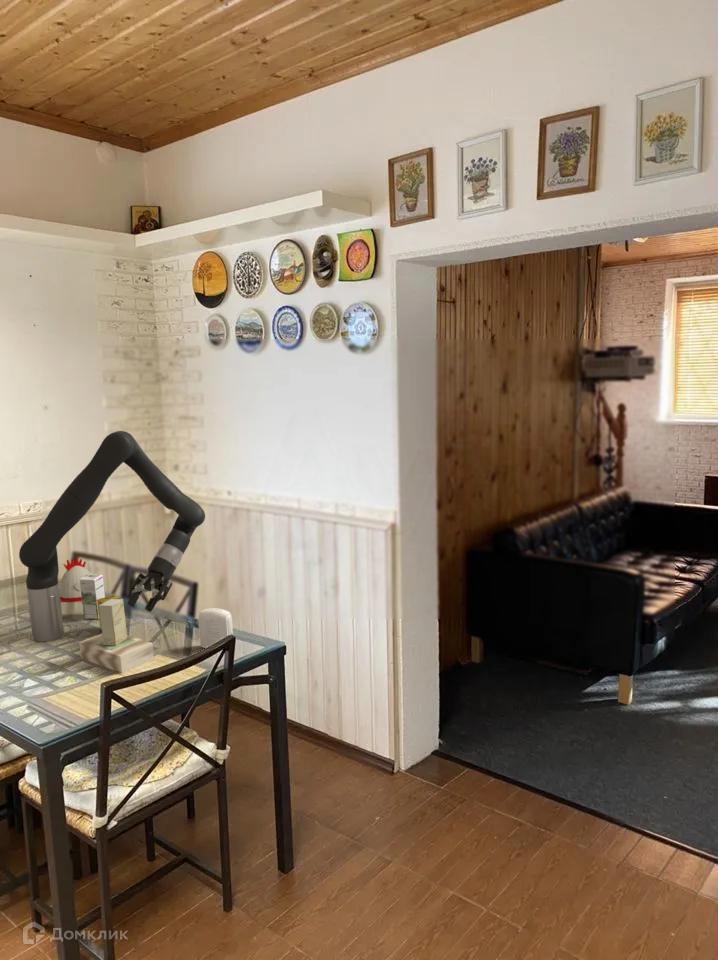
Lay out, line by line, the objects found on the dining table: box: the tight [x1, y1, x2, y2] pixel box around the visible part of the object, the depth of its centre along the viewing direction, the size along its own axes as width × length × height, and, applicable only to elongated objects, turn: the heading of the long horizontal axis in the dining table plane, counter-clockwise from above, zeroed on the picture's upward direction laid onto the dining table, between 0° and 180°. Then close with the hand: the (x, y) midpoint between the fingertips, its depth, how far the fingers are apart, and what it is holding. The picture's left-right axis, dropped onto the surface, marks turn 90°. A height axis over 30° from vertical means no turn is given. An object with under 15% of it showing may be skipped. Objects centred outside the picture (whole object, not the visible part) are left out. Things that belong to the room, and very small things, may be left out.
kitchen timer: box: [59, 556, 92, 603], centre depth 271 cm, size 14×14×15 cm
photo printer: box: [198, 607, 234, 649], centre depth 216 cm, size 10×4×12 cm, turn 72°
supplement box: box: [97, 594, 122, 633], centre depth 234 cm, size 6×6×11 cm
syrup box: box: [80, 574, 106, 620], centre depth 248 cm, size 6×6×14 cm
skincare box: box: [99, 598, 128, 646], centre depth 211 cm, size 6×4×12 cm
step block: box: [78, 633, 155, 674], centre depth 212 cm, size 20×11×5 cm, turn 53°
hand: (138, 608), depth 217 cm, fingers open, 8 cm apart
